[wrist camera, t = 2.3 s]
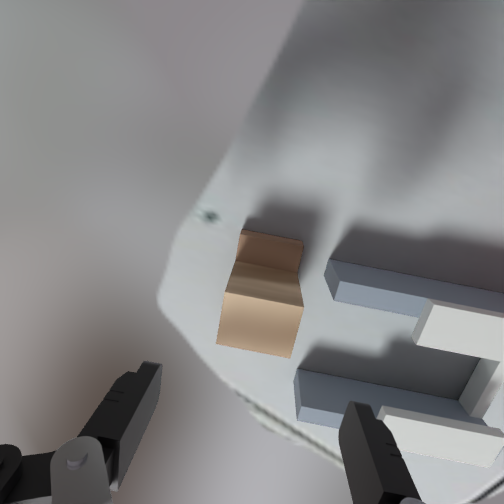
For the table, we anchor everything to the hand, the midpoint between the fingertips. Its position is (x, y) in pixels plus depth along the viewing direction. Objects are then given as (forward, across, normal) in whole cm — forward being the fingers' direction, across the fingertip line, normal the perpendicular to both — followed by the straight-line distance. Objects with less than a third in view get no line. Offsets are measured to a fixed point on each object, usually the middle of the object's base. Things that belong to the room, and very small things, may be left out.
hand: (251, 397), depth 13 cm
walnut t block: (+12, 0, 0) cm, 12 cm away
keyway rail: (+11, -12, +3) cm, 17 cm away
